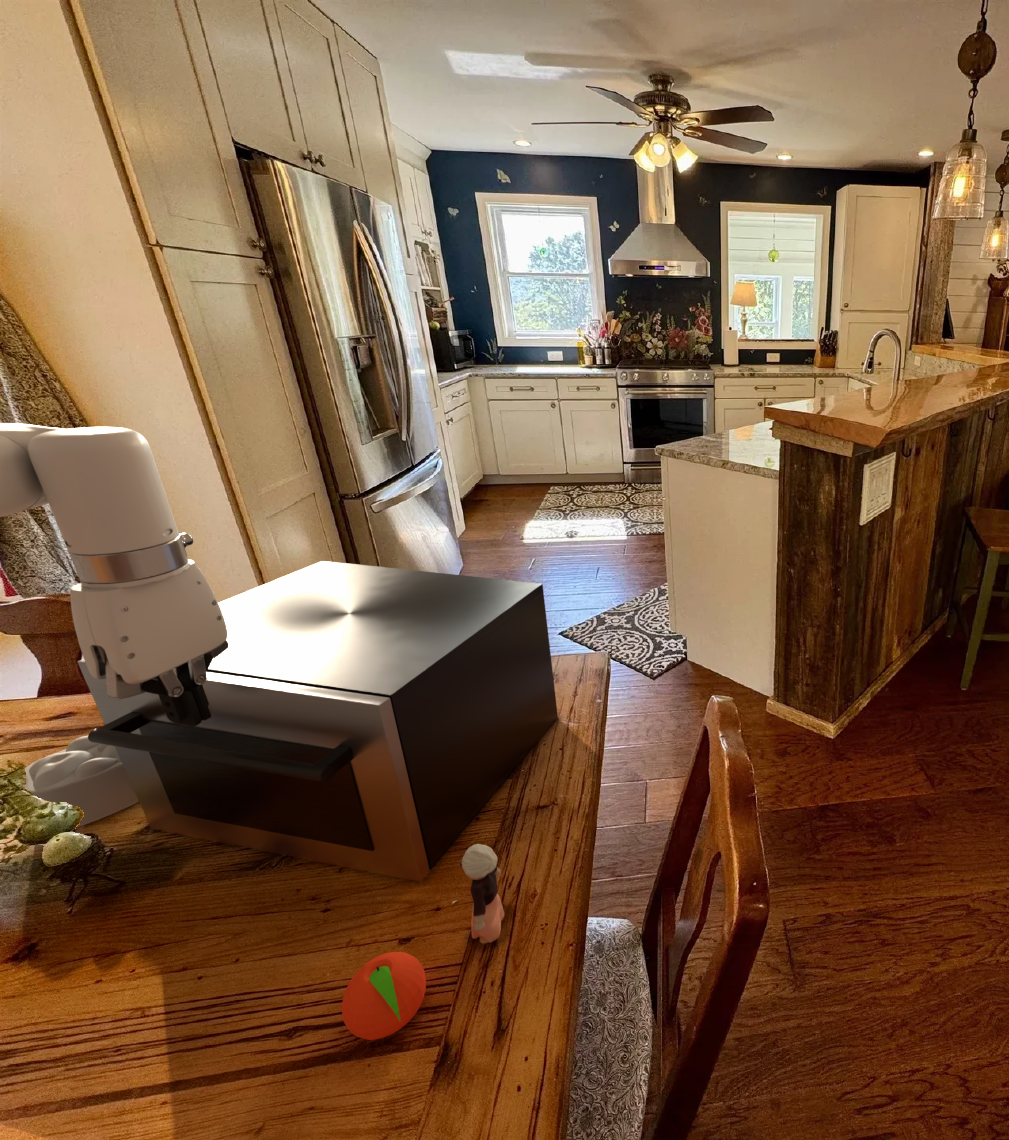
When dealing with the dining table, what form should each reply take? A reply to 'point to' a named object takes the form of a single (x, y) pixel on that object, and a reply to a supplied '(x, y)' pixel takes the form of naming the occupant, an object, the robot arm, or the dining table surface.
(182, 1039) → the dining table surface
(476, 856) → the grandmother figurine
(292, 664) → the oven
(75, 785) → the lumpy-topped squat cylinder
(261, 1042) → the dining table surface
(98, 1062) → the dining table surface
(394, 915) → the dining table surface
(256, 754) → the oven door
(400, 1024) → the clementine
